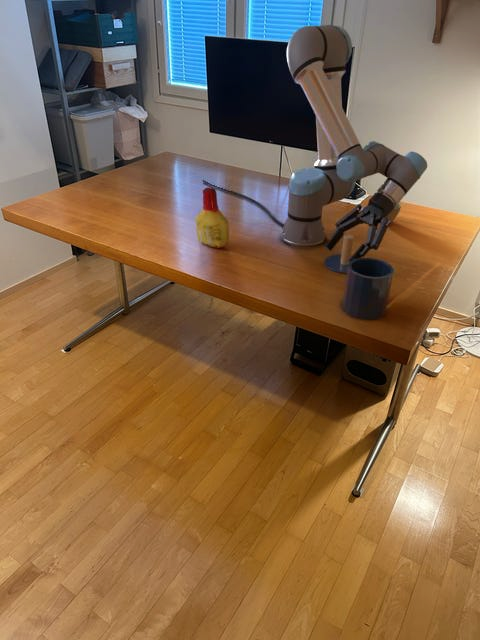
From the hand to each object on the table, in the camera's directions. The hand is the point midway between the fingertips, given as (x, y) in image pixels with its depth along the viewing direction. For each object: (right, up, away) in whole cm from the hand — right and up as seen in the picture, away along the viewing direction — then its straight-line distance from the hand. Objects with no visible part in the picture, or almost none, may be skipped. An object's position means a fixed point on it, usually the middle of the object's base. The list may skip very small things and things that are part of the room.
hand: (339, 255), depth 149 cm
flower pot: (+24, +17, +34) cm, 45 cm away
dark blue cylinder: (+3, -17, -17) cm, 24 cm away
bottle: (-40, +6, +16) cm, 44 cm away
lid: (+2, -2, +3) cm, 5 cm away
